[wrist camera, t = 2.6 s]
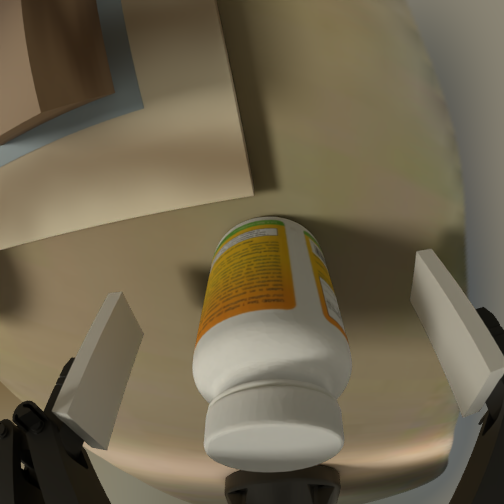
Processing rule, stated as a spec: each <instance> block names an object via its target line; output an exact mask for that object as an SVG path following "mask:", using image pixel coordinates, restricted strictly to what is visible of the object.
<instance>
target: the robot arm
mask: <svg viewBox="0 0 504 504" xmlns="http://www.w3.org/2000/svg"><path fill="white" fill-rule="evenodd" d="M410 302H411V304H412V305H413V307H414V309H415V311H416V313H417V315H418V317H419V319H420V321H421V323H422V325H423V327H424V329H425V331H426V333H427V336H428V338H429V340H430V342H431V344H432V346H433V348H434V350H435V353H436V355H437V357H438V359H439V361H440V364H441V366H442V368H443V370H444V373H445V375H446V377H447V380H448V382H449V385H450V387H451V389H452V392H453V394H454V397H455V399H456V402H457V404H458V407H459V409H460V412H461V415H462V417H466V416H468V415H471V414H473V413H476V412H479V411H480V410H481V408H482V407H483V405H484V404H485V403H486V405H487V407H488V411H487V412H486V413H485V415H484V416H483V417H482V419H481V420H480V422H479V425H481V424H482V422H483V424H482V427H481V430H480V433H479V436H478V439H477V441H476V444H475V447H474V449H473V452H472V454H471V457H470V459H469V462H468V464H467V467H466V469H465V471H464V473H463V476H462V478H461V480H460V482H459V484H458V486H457V488H456V491H455V493H454V495H453V497H452V499H451V500H450V502H449V504H504V330H503V329H502V327H501V326H500V324H499V322H498V321H497V319H496V318H495V316H494V315H493V314H492V313H491V312H490V311H488V310H487V309H486V308H484V307H482V308H478V309H474V307H473V306H472V304H471V302H470V301H469V300H468V298H467V297H466V295H465V294H464V292H463V291H462V289H461V288H460V287H459V285H458V284H457V282H456V281H455V279H454V278H453V277H452V275H451V274H450V273H449V271H448V270H447V269H446V267H445V266H444V264H443V263H442V262H441V261H440V259H439V258H438V257H437V255H436V254H435V253H434V251H433V250H432V249H427V250H421V251H416V260H415V268H414V275H413V282H412V289H411V295H410ZM143 335H144V333H143V331H142V329H141V328H140V326H139V324H138V322H137V320H136V318H135V316H134V314H133V312H132V310H131V308H130V306H129V304H128V302H127V301H126V298H125V296H124V294H123V292H115V293H109V294H108V295H107V297H106V299H105V301H104V303H103V305H102V306H101V308H100V310H99V312H98V314H97V316H96V318H95V320H94V322H93V324H92V325H91V327H90V329H89V331H88V333H87V335H86V337H85V339H84V341H83V343H82V345H81V347H80V349H79V351H78V354H77V356H76V358H71V359H70V360H69V361H68V362H67V364H66V365H65V366H64V368H63V370H62V372H61V374H60V378H58V380H57V382H56V385H55V387H54V389H53V391H52V393H51V396H50V398H49V400H48V403H47V405H46V407H45V409H44V412H43V411H42V410H41V409H40V408H39V407H38V406H37V405H36V404H35V403H34V402H32V401H25V402H22V403H21V404H20V405H18V407H17V408H16V409H15V411H14V414H13V422H14V423H15V424H16V425H17V426H16V425H14V423H12V422H11V421H10V420H8V419H4V420H2V421H0V504H111V503H110V501H109V499H108V497H107V495H106V493H105V491H104V489H103V487H102V485H101V483H100V481H99V479H98V477H97V475H96V472H95V470H94V468H93V466H92V464H91V461H90V459H89V457H88V454H87V452H86V450H85V449H84V448H83V447H82V446H83V442H84V441H85V442H86V443H87V444H88V445H90V446H91V447H92V448H97V449H103V450H107V448H108V445H109V441H110V438H111V434H112V431H113V427H114V424H115V421H116V417H117V414H118V411H119V407H120V404H121V401H122V398H123V394H124V391H125V388H126V385H127V382H128V379H129V376H130V373H131V370H132V367H133V364H134V361H135V358H136V355H137V352H138V349H139V346H140V344H141V341H142V338H143ZM21 462H22V463H23V464H24V465H25V468H24V470H23V469H22V468H21ZM340 488H341V485H340V476H339V472H338V471H337V470H335V469H333V468H329V467H324V466H316V465H315V466H312V467H308V468H304V469H299V470H294V471H286V472H252V471H245V470H242V471H238V472H235V473H233V474H231V475H229V476H228V477H227V478H226V480H225V496H226V500H227V503H228V504H337V501H338V497H339V493H340Z"/></svg>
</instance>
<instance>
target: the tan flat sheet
mask: <svg viewBox="0 0 504 504" xmlns="http://www.w3.org/2000/svg"><path fill="white" fill-rule="evenodd" d="M96 2H97V8H98V14H99V19H100V25H101V30H102V35H103V40H104V45H105V50H106V55H107V59H108V64H109V68H110V73H111V77H112V81H113V85H114V90H115V93H113V94H111V95H108V96H105V97H103V98H100V99H98V100H95V101H92V102H90V103H88V104H85V105H83V106H80V107H78V108H76V109H73V110H71V111H69V112H66V113H64V114H62V115H60V116H58V117H56V118H53V119H51V120H49V121H47V122H45V123H43V124H41V125H39V126H37V127H35V128H33V129H31V130H29V131H27V132H25V133H23V134H22V135H20V136H18V137H16V138H14V139H12V140H11V141H9V142H7V143H5V144H4V145H2V146H0V250H2V249H6V248H9V247H13V246H17V245H21V244H24V243H28V242H32V241H36V240H40V239H44V238H47V237H51V236H56V235H60V234H64V233H68V232H72V231H76V230H80V229H85V228H89V227H93V226H98V225H102V224H107V223H111V222H116V221H120V220H125V219H130V218H135V217H139V216H144V215H149V214H154V213H159V212H164V211H169V210H175V209H180V208H185V207H191V206H196V205H202V204H207V203H213V202H219V201H224V200H230V199H236V198H242V197H249V196H254V184H253V179H252V174H251V168H250V163H249V158H248V153H247V148H246V143H245V138H244V133H243V127H242V122H241V117H240V112H239V107H238V102H237V97H236V92H235V87H234V83H233V78H232V73H231V68H230V63H229V58H228V53H227V48H226V44H225V39H224V34H223V29H222V25H221V20H220V15H219V10H218V6H217V1H216V0H96Z"/></svg>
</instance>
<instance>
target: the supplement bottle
mask: <svg viewBox="0 0 504 504" xmlns="http://www.w3.org/2000/svg"><path fill="white" fill-rule="evenodd" d="M351 370H352V359H351V353H350V347H349V343H348V339H347V336H346V332H345V329H344V325H343V321H342V318H341V314H340V310H339V307H338V303H337V299H336V296H335V293H334V289H333V285H332V282H331V279H330V276H329V272H328V269H327V266H326V262H325V259H324V256H323V253H322V251H321V248H320V246H319V244H318V242H317V240H316V239H315V238H314V236H313V235H312V234H311V233H310V232H309V231H308V230H307V229H306V228H304V227H303V226H302V225H300V224H298V223H296V222H294V221H291V220H289V219H285V218H280V217H259V218H253V219H250V220H247V221H244V222H242V223H240V224H238V225H236V226H235V227H233V228H232V229H231V230H230V231H229V232H227V234H226V235H225V236H224V237H223V238H222V239H221V241H220V242H219V244H218V246H217V248H216V251H215V254H214V257H213V260H212V265H211V270H210V275H209V280H208V284H207V289H206V294H205V299H204V304H203V309H202V314H201V319H200V324H199V329H198V334H197V340H196V345H195V350H194V357H193V376H194V380H195V384H196V386H197V389H198V390H199V392H200V394H201V395H202V396H203V397H204V399H205V400H206V401H207V402H208V403H209V407H208V412H207V415H206V424H205V436H204V449H205V452H206V453H207V455H208V456H209V457H211V458H212V459H213V460H214V461H216V462H218V463H220V464H223V465H225V466H228V467H231V468H235V469H240V470H245V471H252V472H286V471H294V470H299V469H304V468H308V467H312V466H315V465H318V464H320V463H323V462H325V461H327V460H329V459H331V458H332V457H334V456H335V455H336V454H338V453H339V452H340V450H341V449H342V447H343V445H344V432H343V424H342V413H341V409H340V407H339V405H338V402H337V398H338V397H339V396H340V395H341V394H342V393H343V391H344V389H345V388H346V386H347V384H348V381H349V379H350V375H351Z"/></svg>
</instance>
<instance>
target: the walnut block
mask: <svg viewBox="0 0 504 504" xmlns="http://www.w3.org/2000/svg"><path fill="white" fill-rule="evenodd" d="M113 93H115V90H114V85H113V81H112V77H111V73H110V68H109V64H108V59H107V55H106V50H105V45H104V40H103V35H102V30H101V25H100V19H99V14H98V8H97V2H96V0H0V146H2V145H4V144H5V143H7V142H9V141H11V140H12V139H14V138H16V137H18V136H20V135H22V134H23V133H25V132H27V131H29V130H31V129H33V128H35V127H37V126H39V125H41V124H43V123H45V122H47V121H49V120H51V119H53V118H56V117H58V116H60V115H62V114H64V113H66V112H69V111H71V110H73V109H76V108H78V107H80V106H83V105H85V104H88V103H90V102H92V101H95V100H98V99H100V98H103V97H105V96H108V95H111V94H113Z"/></svg>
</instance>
